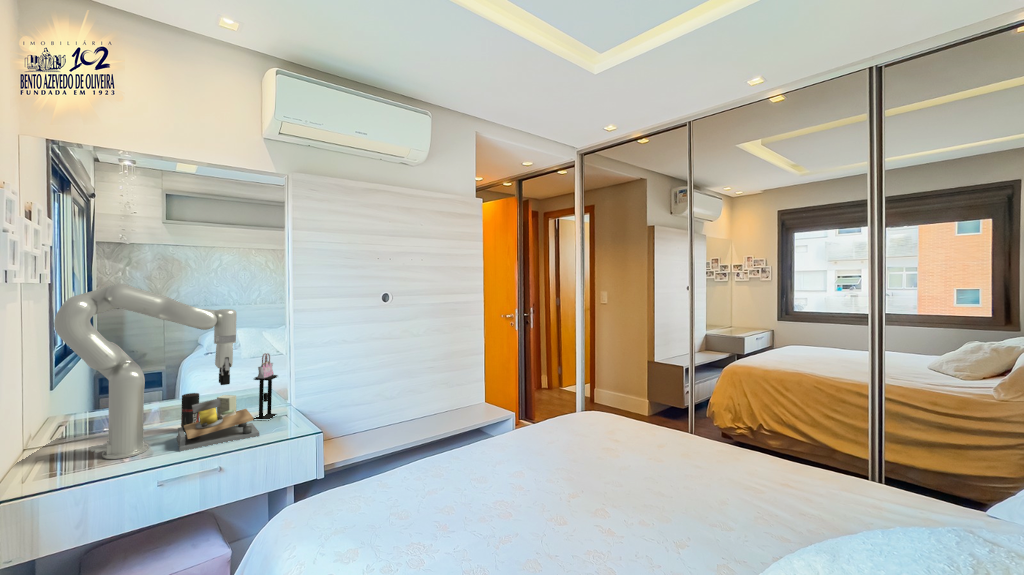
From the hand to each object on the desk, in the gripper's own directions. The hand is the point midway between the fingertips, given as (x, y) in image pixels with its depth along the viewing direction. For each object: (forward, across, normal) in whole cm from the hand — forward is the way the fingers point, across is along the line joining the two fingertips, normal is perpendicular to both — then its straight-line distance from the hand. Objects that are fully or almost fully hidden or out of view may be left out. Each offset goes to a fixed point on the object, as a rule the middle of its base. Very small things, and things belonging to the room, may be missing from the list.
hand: (224, 383), depth 177 cm
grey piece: (+21, +4, -2) cm, 22 cm away
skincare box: (+21, -13, +3) cm, 25 cm away
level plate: (+16, +4, -2) cm, 16 cm away
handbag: (+21, -12, +18) cm, 30 cm away
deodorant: (+21, -12, -10) cm, 27 cm away
